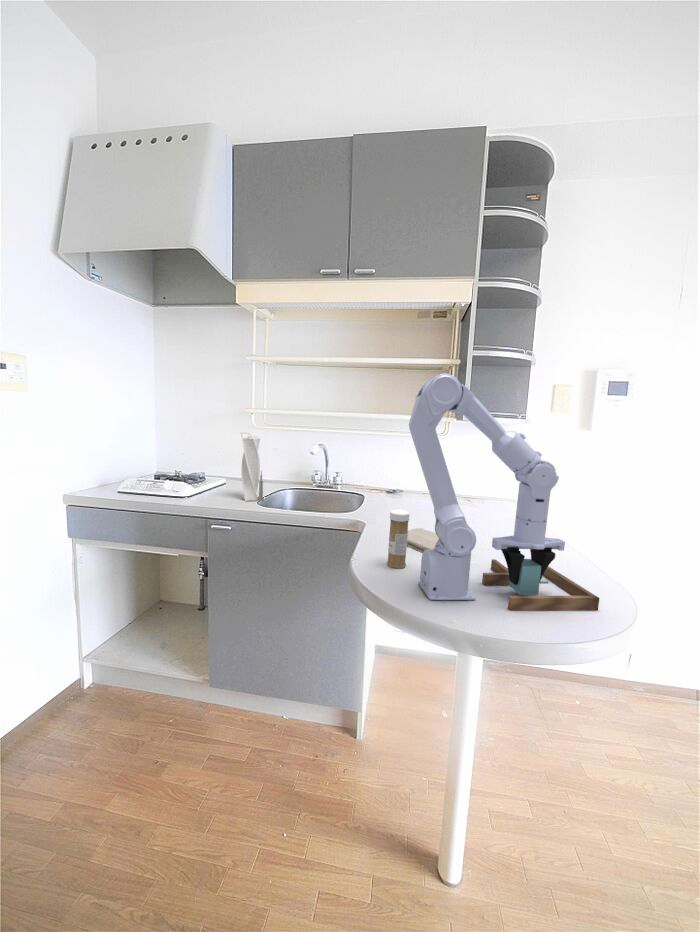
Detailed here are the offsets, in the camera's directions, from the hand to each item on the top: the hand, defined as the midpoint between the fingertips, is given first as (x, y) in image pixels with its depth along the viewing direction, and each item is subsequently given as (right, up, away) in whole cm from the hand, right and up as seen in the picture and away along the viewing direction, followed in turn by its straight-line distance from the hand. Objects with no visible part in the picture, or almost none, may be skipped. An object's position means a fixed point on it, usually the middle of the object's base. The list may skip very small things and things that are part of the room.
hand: (524, 582), depth 78 cm
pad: (+5, -2, +11) cm, 12 cm away
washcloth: (-15, +1, +31) cm, 34 cm away
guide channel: (+2, -3, +5) cm, 6 cm away
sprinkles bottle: (-25, 0, +14) cm, 28 cm away
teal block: (0, -2, 0) cm, 2 cm away
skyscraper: (-77, +10, +78) cm, 110 cm away
